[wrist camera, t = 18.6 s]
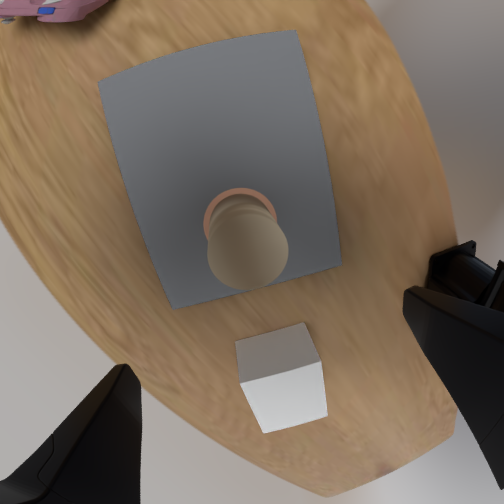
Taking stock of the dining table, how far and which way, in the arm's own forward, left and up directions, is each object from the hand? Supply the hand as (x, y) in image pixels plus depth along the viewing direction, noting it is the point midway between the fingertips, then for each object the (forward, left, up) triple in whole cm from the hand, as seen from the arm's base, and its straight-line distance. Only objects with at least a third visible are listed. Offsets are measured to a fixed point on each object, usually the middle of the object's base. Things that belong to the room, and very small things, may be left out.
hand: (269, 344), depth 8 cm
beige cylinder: (0, 0, -12) cm, 12 cm away
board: (0, -3, -12) cm, 13 cm away
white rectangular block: (0, +14, -13) cm, 19 cm away
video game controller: (+8, -21, -13) cm, 26 cm away
